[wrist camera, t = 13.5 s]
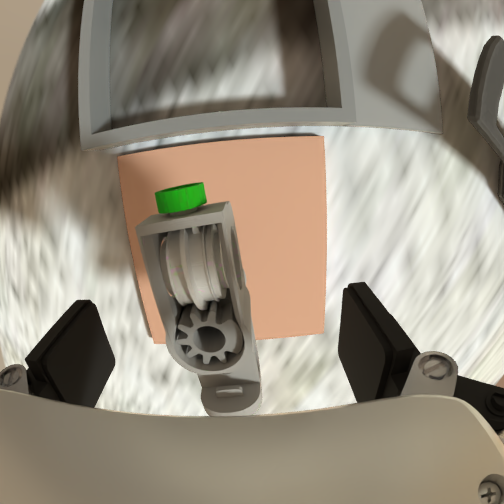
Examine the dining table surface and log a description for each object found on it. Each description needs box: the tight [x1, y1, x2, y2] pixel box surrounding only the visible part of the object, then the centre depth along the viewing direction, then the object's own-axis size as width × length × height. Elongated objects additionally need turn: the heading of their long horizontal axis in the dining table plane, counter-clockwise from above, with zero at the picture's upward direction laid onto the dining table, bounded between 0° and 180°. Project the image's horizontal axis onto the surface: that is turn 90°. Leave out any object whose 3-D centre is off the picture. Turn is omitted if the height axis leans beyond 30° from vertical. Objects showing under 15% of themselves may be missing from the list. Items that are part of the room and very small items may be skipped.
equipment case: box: [78, 0, 443, 151], centre depth 13 cm, size 24×16×3 cm, turn 94°
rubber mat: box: [117, 136, 327, 344], centre depth 19 cm, size 13×14×1 cm
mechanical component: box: [135, 182, 262, 416], centre depth 14 cm, size 3×10×10 cm, turn 9°
